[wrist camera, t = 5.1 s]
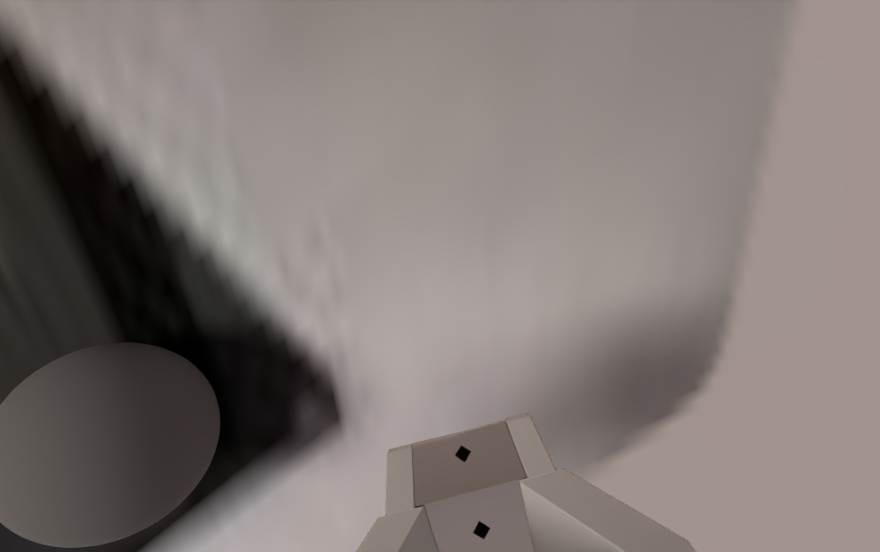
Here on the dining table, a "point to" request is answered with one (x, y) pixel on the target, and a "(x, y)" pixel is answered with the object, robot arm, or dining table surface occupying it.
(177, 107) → the dining table surface
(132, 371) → the gray ball
